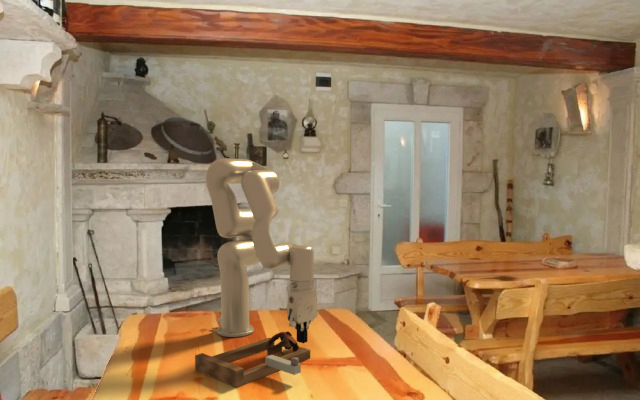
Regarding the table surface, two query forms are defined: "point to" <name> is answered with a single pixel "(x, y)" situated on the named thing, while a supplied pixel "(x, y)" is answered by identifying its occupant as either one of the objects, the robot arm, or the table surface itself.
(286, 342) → the pottery mug
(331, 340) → the table surface
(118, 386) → the table surface
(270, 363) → the gray rectangular bar
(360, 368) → the table surface
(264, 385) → the table surface
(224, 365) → the frame
